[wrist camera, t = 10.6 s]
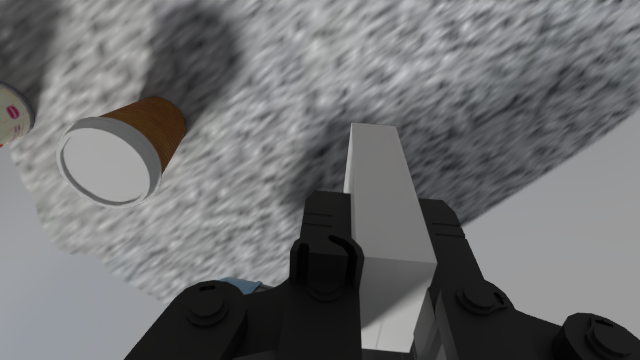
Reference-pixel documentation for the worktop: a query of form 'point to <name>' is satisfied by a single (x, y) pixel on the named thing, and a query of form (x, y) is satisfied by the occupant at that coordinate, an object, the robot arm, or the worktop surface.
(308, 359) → the robot arm
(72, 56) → the worktop surface
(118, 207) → the disposable coffee cup
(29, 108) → the aerosol can
